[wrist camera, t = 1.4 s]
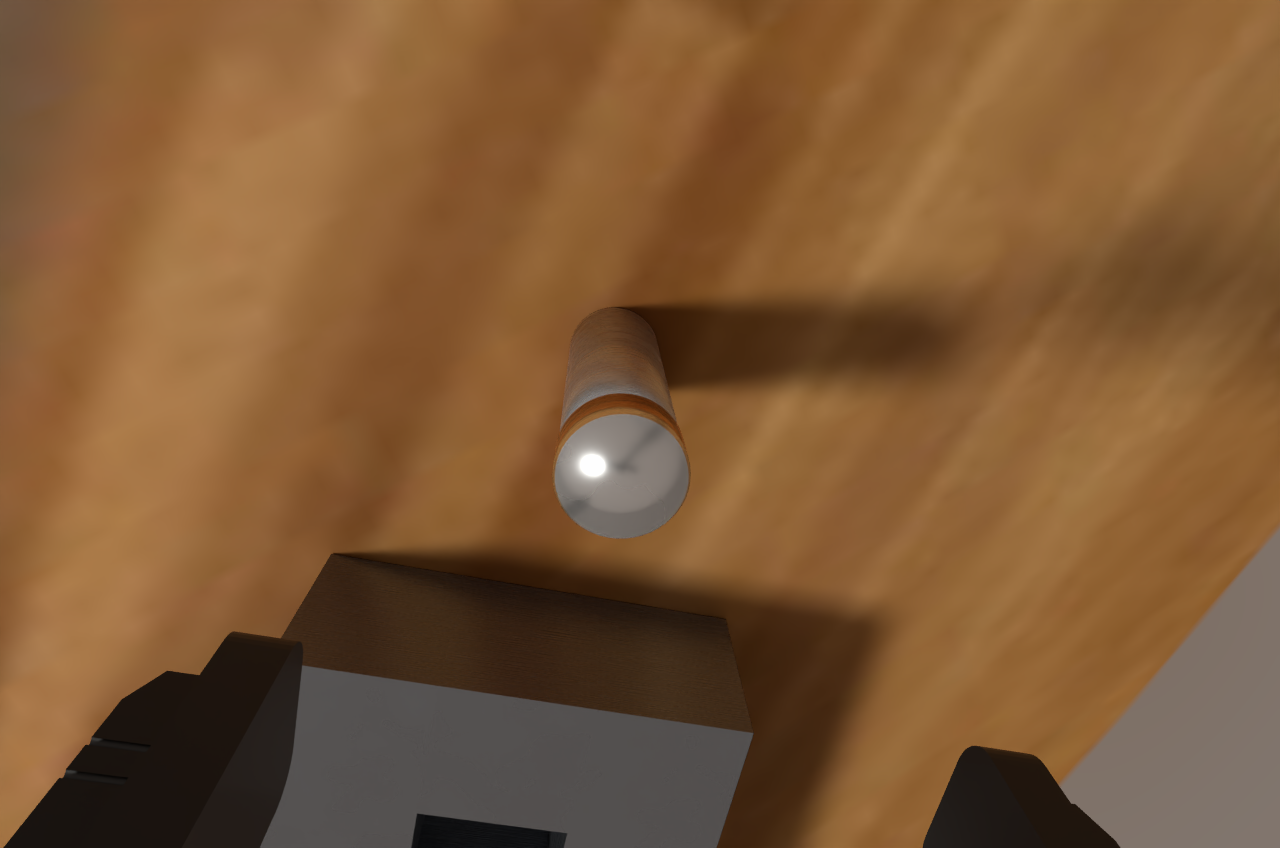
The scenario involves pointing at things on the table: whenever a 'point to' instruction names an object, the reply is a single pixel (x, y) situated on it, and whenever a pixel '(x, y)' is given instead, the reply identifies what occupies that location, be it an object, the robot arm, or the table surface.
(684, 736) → the bore block
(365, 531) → the table surface
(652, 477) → the cylinder
